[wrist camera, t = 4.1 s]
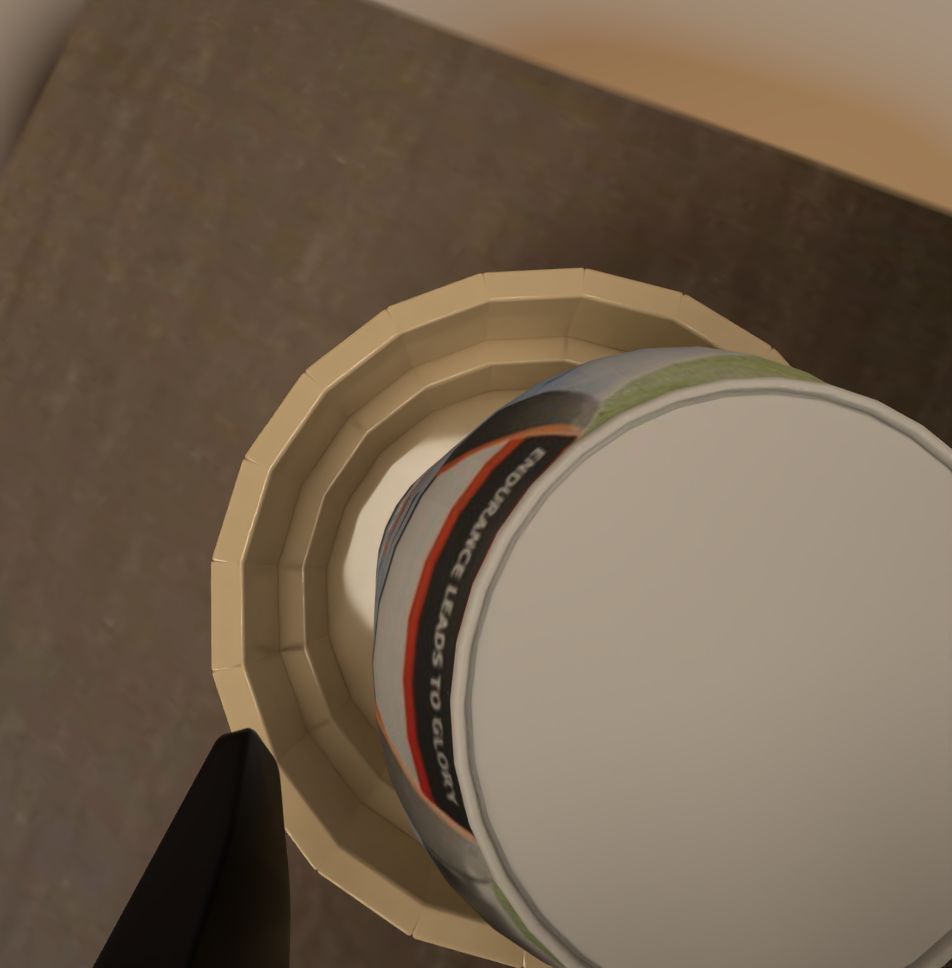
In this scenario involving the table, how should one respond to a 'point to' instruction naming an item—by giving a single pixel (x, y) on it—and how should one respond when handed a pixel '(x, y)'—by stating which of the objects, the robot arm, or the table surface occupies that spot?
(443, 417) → the bowl
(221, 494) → the table surface
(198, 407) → the table surface
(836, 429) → the beverage can
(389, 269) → the table surface
